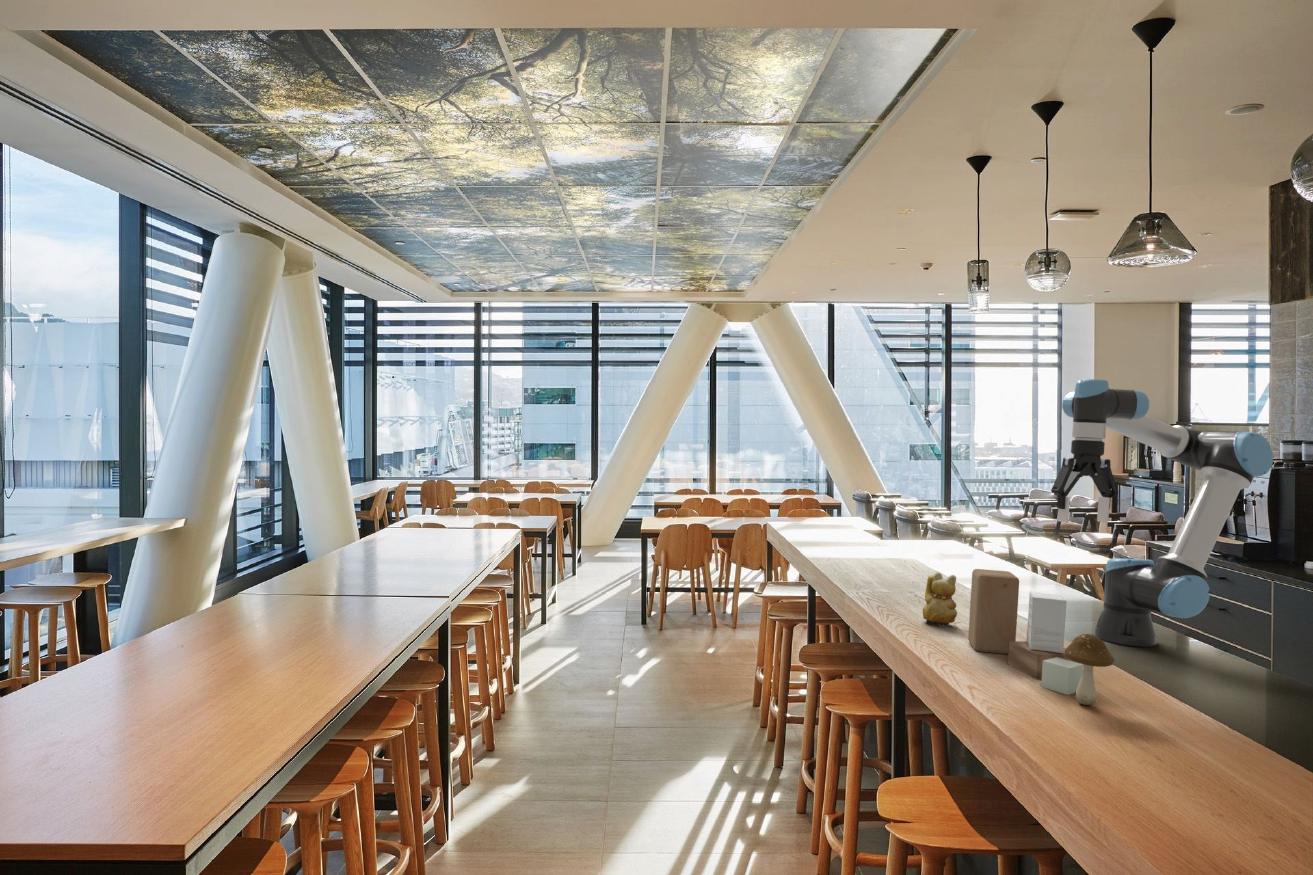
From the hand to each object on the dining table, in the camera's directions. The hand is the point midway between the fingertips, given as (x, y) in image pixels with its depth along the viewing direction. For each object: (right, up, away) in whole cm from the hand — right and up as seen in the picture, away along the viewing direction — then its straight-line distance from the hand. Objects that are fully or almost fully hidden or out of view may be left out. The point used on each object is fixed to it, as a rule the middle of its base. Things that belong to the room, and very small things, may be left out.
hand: (1082, 522), depth 208 cm
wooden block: (-22, -34, +4) cm, 41 cm away
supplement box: (-17, -29, -15) cm, 37 cm away
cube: (-19, -35, -27) cm, 48 cm away
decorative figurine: (-28, -33, +27) cm, 51 cm away
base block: (-17, -35, -14) cm, 41 cm away
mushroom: (-19, -35, -38) cm, 55 cm away
